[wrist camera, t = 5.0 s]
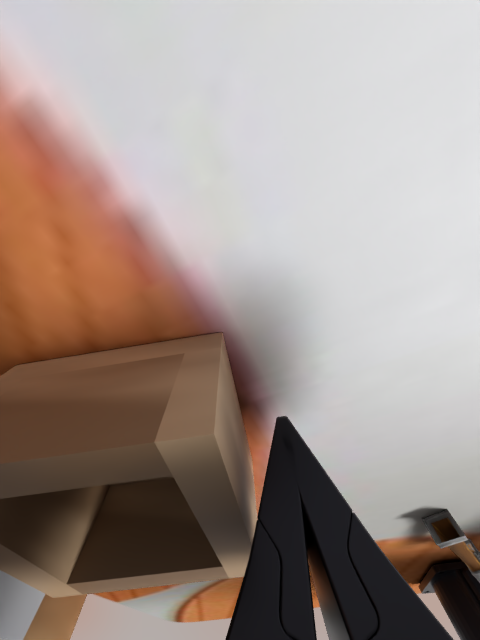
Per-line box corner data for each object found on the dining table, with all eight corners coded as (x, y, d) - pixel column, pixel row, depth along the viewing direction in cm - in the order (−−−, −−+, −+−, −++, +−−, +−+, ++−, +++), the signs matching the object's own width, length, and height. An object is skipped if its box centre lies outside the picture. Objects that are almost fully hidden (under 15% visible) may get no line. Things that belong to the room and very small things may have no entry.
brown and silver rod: (469, 563, 17) (527, 655, 13) (403, 485, 18) (438, 548, 13) (492, 557, 17) (561, 650, 12) (423, 476, 17) (467, 539, 13)
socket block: (252, 460, 11) (261, 574, 8) (108, 479, 12) (52, 597, 8) (222, 332, 8) (214, 433, 4) (15, 365, 8) (-159, 486, 4)
